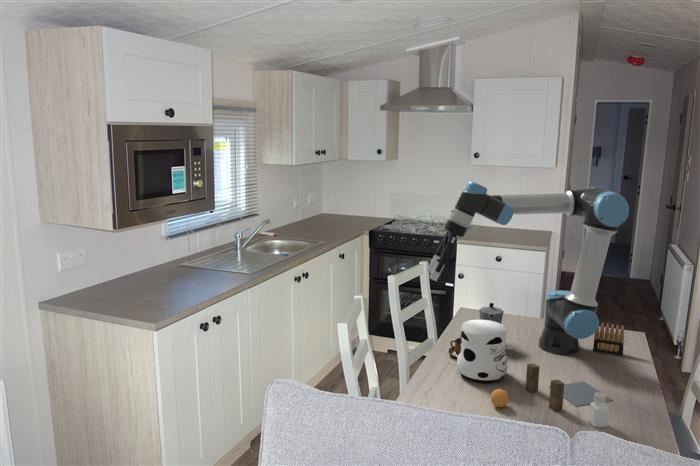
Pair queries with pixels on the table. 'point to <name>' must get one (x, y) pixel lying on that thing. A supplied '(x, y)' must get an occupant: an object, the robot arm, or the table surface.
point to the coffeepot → (491, 313)
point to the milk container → (482, 350)
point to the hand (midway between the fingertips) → (431, 275)
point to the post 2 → (556, 395)
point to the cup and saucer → (455, 347)
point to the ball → (499, 398)
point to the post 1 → (532, 378)
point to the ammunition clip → (609, 340)
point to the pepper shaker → (598, 411)
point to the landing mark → (580, 393)
